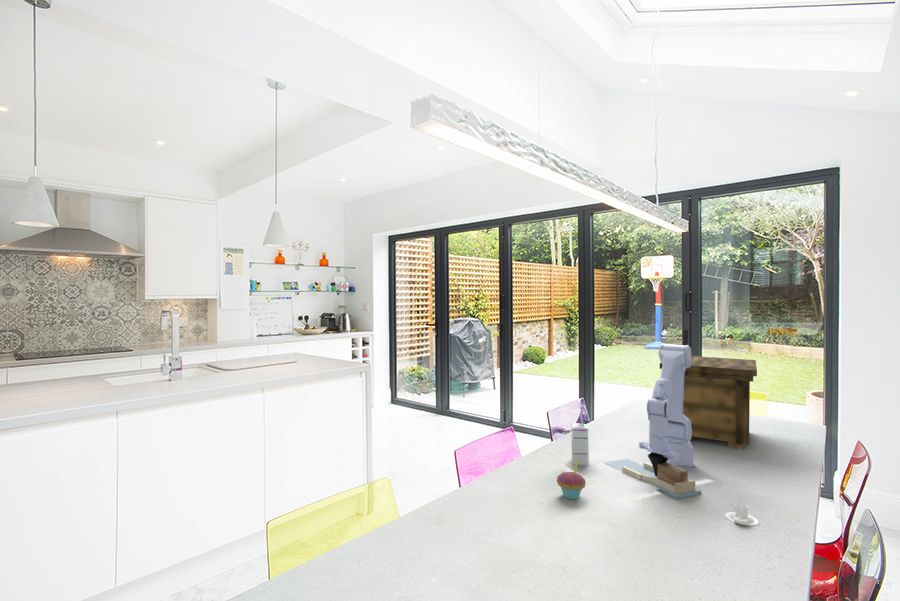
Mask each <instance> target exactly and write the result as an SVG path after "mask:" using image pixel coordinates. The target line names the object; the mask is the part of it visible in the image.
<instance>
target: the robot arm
mask: <svg viewBox="0 0 900 601" xmlns="http://www.w3.org/2000/svg"><path fill="white" fill-rule="evenodd" d="M691 356H692V348H691V347H690V345H688V344H686V345H680V344H667V343H661V344H660V345H659V348H658V358H659V361H660V363H662V369H661V372H660V378H659V379H657V380H656V381H655V384H654V387H653V391H652V396H651V398H648V400H647V404H646V413H647V420H648V422H649V423H648V425H649V426H648V427H649V429H648V432H649V437H648V440H649V442H647V441H646V442H645V441H640V442H638V445H639V449H643V450H646V451H647V452H649V453H648V454H647V457H648V459H649V461H650V464H651V465H652V466H653V469H654V473H655V476H656V477H657V475H658V464H661V463H666V462H667V463H669V464H672V465H674V466H677V467H682V466H687V467H690V468H691V467H696V464H695V463H694V448H693V444H692V442H691V439H692V437H693V436H692V427H691V421H690V419H689V418H687V417H686V416H685V415H684V414H683V399H684V374H685V370H686V369H687V368H690V365H691ZM668 420H669V421H668ZM671 421H675V422H671ZM677 422H681V423H677Z"/></svg>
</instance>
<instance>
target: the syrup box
mask: <svg viewBox="0 0 900 601" xmlns="http://www.w3.org/2000/svg"><path fill="white" fill-rule="evenodd" d="M577 459H578V465H577V466H586V467H587V466H589V464H590V462H589V427H588V424H587V423H580V422H577V423H575V422H574V423H571V464H572V465H575V464H576V460H577Z"/></svg>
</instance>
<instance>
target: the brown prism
mask: <svg viewBox="0 0 900 601" xmlns="http://www.w3.org/2000/svg"><path fill="white" fill-rule="evenodd" d="M688 474H689V471H688V470H686V469H684V468H682V467H680V466H676V465H672V464H669V463H667V462H666V463H661V464H658V475H657V478H658V479H660V480H662V481H665V482H667V483H669V484H672V485H674V486H675V483H678V482H683V481H687V480H689V477H688V476H689V475H688Z"/></svg>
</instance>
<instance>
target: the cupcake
mask: <svg viewBox="0 0 900 601" xmlns="http://www.w3.org/2000/svg"><path fill="white" fill-rule="evenodd" d="M578 466H579V465H578V459H577V460H576V464H575V466H574V471H570V472H569V471H568V472H567V471H564V472H562V473H559V475H558V476H557V478H556V482H557V484H558V486H559V487H560V489H561V491H562V496H563V497H564V498H567V499H569V500H576V499H580V495H581V493H582V489H584V488H585V487H586V479H585V478H584V477H583V475H581V474H579V473H577V472H578V471H577V470H578Z"/></svg>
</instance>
